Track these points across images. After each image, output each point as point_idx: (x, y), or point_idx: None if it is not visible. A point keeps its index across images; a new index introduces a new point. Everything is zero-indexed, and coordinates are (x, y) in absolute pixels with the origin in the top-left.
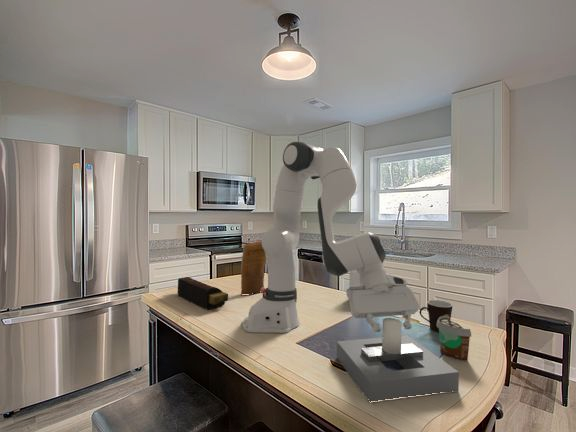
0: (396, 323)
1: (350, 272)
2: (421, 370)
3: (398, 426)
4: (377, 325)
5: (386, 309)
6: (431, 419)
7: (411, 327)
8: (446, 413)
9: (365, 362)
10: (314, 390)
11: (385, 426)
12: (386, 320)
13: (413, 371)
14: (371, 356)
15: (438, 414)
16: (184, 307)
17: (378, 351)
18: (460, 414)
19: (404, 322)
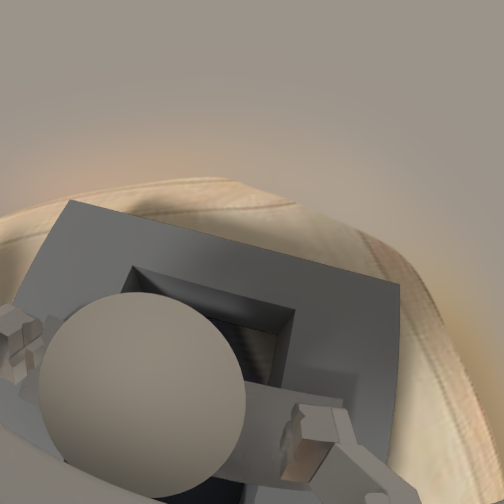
0: (137, 328)
1: None
2: (167, 257)
3: (347, 227)
4: (324, 427)
5: (104, 501)
6: (259, 207)
7: (15, 307)
8: (206, 204)
9: (349, 407)
10: (468, 407)
11: (373, 239)
12: (176, 445)
13: (203, 266)
14: (332, 398)
15: (227, 210)
16: None
17: (259, 430)
18: (179, 190)
19: (11, 351)
